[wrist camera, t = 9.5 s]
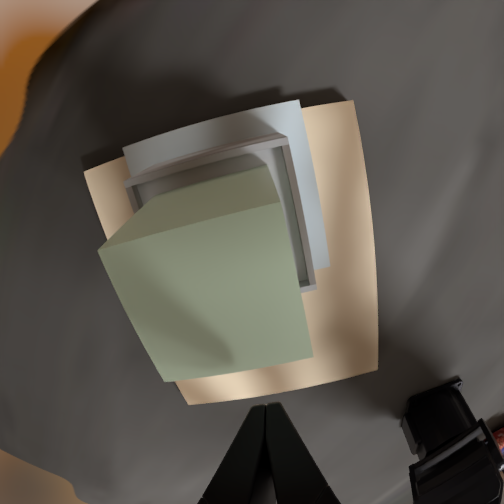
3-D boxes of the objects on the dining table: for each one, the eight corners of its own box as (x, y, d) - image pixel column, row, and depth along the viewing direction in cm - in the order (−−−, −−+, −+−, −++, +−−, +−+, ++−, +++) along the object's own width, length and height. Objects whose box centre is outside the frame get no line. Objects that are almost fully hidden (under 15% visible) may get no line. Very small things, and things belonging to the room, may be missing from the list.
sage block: (267, 164, 13) (280, 201, 8) (292, 269, 15) (313, 356, 10) (155, 195, 13) (97, 250, 8) (190, 292, 15) (164, 382, 10)
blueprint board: (346, 92, 16) (384, 85, 11) (374, 361, 24) (395, 412, 19) (88, 161, 18) (37, 181, 12) (190, 396, 26) (181, 449, 21)
